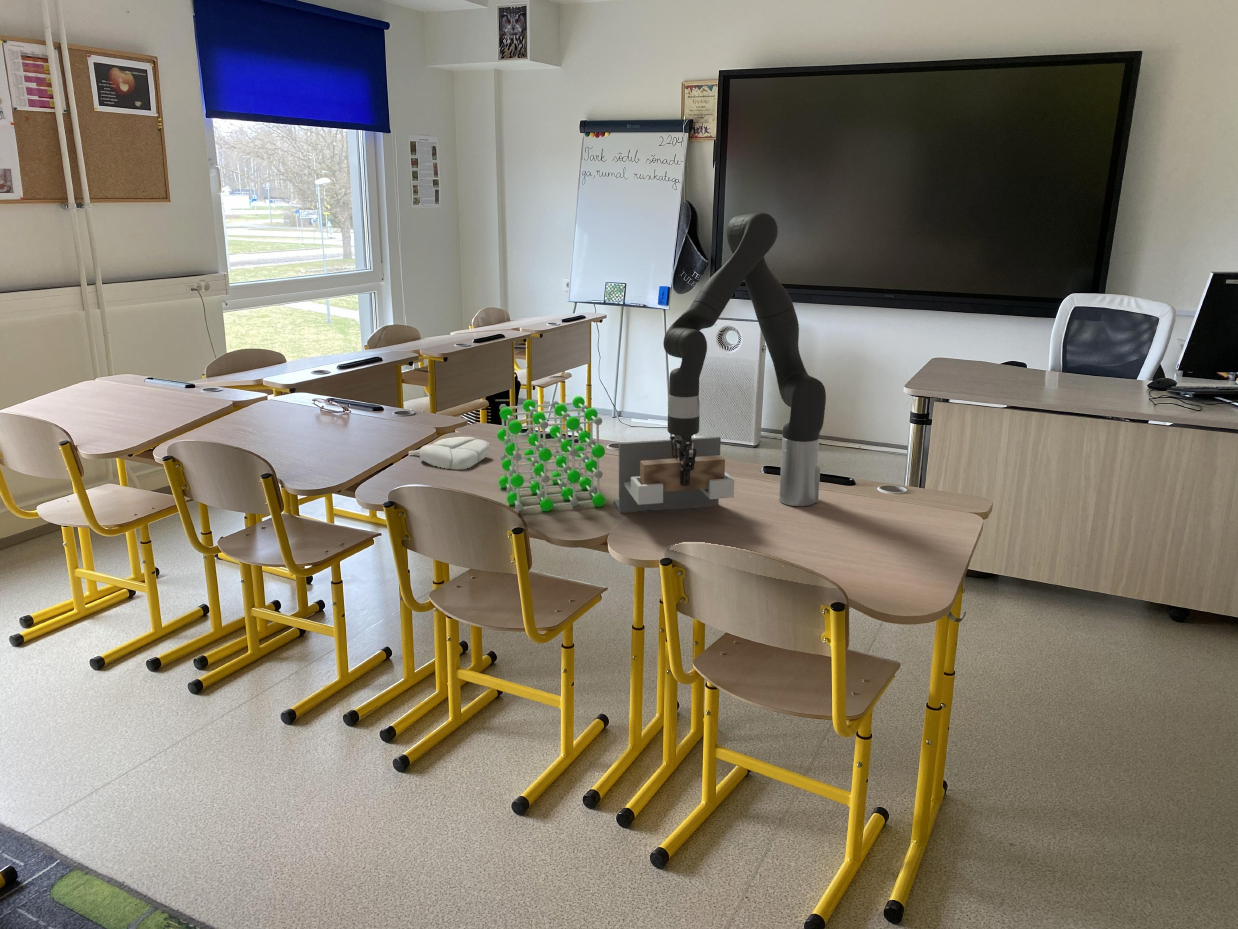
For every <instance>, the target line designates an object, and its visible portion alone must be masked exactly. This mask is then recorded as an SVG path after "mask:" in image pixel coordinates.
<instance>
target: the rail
mask: <svg viewBox="0 0 1238 929" xmlns="http://www.w3.org/2000/svg"><path fill="white" fill-rule="evenodd" d="M686 465H688V463H687V464H686ZM680 471H681V470H680V461H678V458H673V459H658V460H644V461H640V484H641V485H644V484H658V483H662V484H663V492H668V491H681V490H694V489H707V488H709V480H713V479H724V477H725V472H726V458H724V457H723V456H722V455H721V454H720V455H716V456H702V457H695V463H694V469H693V470H690V484H689V485H688V486H681V485H680Z"/></svg>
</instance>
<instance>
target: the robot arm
mask: <svg viewBox="0 0 1238 929" xmlns="http://www.w3.org/2000/svg"><path fill="white" fill-rule="evenodd" d="M778 231H779V230H778V225H777V222H776V219H775V218H774V217H773V216H772V215H771V214H769V213H768V212H754V213H753V212H751V213H744V214H738V215H735V216H734V217H732V218H731V219H730V220H729V222H728V224H727V227H726V238H727V244H728V245H729V248H730V251H731V254H732V255H731V257H730V258H729V259H728V260H727V261H726V262H725V263H724V264H723V265H722V266H721V267H720V268H719V269H718V270H717V271H716V272H715V273H714V274H712V276H710V277H709V278H708V280H706V282H705V283H704V284H703V286H702V287H701V288H700V290H699V291H698V293H697V294H696V296H695V298H694V299H693V301H692V303H691V304H690V306H689V307H688V309H686V310H685V311H684V312H682V314H681V315H680V316H678V318H677V319H676V320H674V322H672V324H670V326H669V327H668V328H667V331H666V332H665V335H664V338H663V349H664V351H665V353H666V354H667V355H669V356H670V357H674V358H679V359H681V363H680V366H679V367H677V368H674V369H672V370H671V371H670V372H669V377H668V378H669V379H668V380H669V381H668V401H667V428H666V429H667V432H668V433H669V434H670V435H671V436H670V438H669V440H671V449H672V459H673V458H678V461H680V470H681V471H680V485H681V486H688V485H689V484H690V470H693V469H694V463H695V457H696V449H693V441H692V438H693V436H696V435H698V433H700V415H701V413H700V412H701V410H700V409H701V402H700V378H701V374H702V370H703V368H704V364H705V360H706V356H707V352H708V343H707V338H706V336H705V334H704V333H703V332H702V331H701V330H704V329H709V328H712V327H713V326H714V325H715V324H716V323H717V321H718V319H719V318H720V317H721V314H722V313H723V312H724V310H725V308H726V307H727V305H728V304H729V302H730V300H731V299H732V297H733V296H734V294H735V293H736V291H737V290H738V289H739V287H740V286H741V285H742V283H743V282H744V284H745V286H746V288H747V289H746V290H747V291H748V294H749V297H750V301H751V303H752V306H753V309H754V310H753V311H754V312H755V316H756V319H757V323H758V325H759V328H760V331H761V334H762V336H763V340H764V342H765V344H766V347H767V350H768V353H769V355H770V358H771V362H772V363H773V364H772V365H773V368H774V372H775V376H776V381H777V386H778V391H779V395H780V397H781V400H782V402H783V403H784V404H785V405H786V406H787V407H789V408H790V413H789V414H790V415H789V421H788V423H785V424H784V425H783V427H782V438H781V439H782V440H781V442H782V443H781V455H780V457H781V458H780V460H781V461H780V475H779V476H780V478H779V479H780V480H779V493H778V494H779V495H778V496H779V497H778V500H779V501H780V503H782V504H784V505H788V506H791V507H793V506H794V507H806V506H812V505H813V504H818V503H819V494H820V478H821V477H820V476H821V467H819V466H818V464H819V463H818V462H819V461H818V459H819V442H820V433H821V430H822V429H823V426H824V422H825V421H824V420H825V412H826V411H825V410H826V403H827V402H826V401H827V393H826V388H825V385H824V384H823V382H822V381H820V380H819V379H817V378H815V377H813V376H811V375H809V374H808V372H807V370H806V367H805V366H804V362H803V360H802V358H801V353H800V350H799V348H800V347H799V338H800V336H799V335H800V323H799V319H798V314H797V312H796V309H795V306H794V303H793V300H792V298H791V296H790V294H789V292H788V291H787V290H786V288H785V287H784V286H783V285H782V283H781V282H780V281H779V279H778V278H777V277H776V276H775V275H774V273H772V271H771V269H770V268H769V266H768V264H767V261H766V258H765V255H767V253H768V252H769V251H770V250H771V248H772V247H774V245H775V243H776V241H777V238H778ZM687 463H688V465H686V464H687Z"/></svg>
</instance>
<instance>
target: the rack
mask: <svg viewBox="0 0 1238 929" xmlns="http://www.w3.org/2000/svg"><path fill="white" fill-rule="evenodd" d="M691 438H692V441H693V449H696V457H702V456H716V455H721V444H722V443H721V442H722V441H721V440H722V438H721V436H709V437H708V436H706V437H705V436H704V437H691ZM658 459H672V449H671V439H657V440H643V441H627V442H626V441H622V442H618V499H613V505H614V506H615V508H616V510H617V511H618V512H619V514H624V513H625V514H626V513H637V512H636V511H640V512H647V511H646V510H652V511H663V510H664V511H665V510H676V509H688V508H700V507H702V508H704V507H714V506H719V501H720V499H732V498H734V497H735V496H734V494H735V479H734V478H733V477H732V476H731V475H730V474H729V473H728V472H726V471H725V477H724V479H713V480H709V488H707V489H694V490H681V491H668V492H663V484H662V483H658V484H644V485H641V484H640V461H644V460H658Z"/></svg>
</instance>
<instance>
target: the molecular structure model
mask: <svg viewBox="0 0 1238 929" xmlns="http://www.w3.org/2000/svg"><path fill="white" fill-rule="evenodd" d="M585 403H586V401H585V398H583V397H582V396H580V395H578V396H577V395H576V396H575V397H574V398H573V399H572V402H558V401H557V400H553V401H552V402H551V403H543V404H536V402H534V400H533V399H526V400H524V401H523V404H522V405H515V406H514V405H513V406H507V405H506V403H503V404H502V403H501V404H500V405H499V410H500V411H499V416H500V419H501V427H502V428H501V429H500V430H498V431H497V435H496V436H497V439H498V440H499V441H500V442H502V452H503V453H502V454H501V456H500V460H501V461H502V462H501V468H502V469H503V475H502V476H501V477H500V478H499V479H498V485H499V487H501V488H503V489H506V490H505V491H506V493H507V496H506V500H507V504H510V505H511V506H514V509H515V511H517V512H522V511H523V510H529V509H539V508H540V509H541V511H543V512H545V511H546V512H550V511H551V510H552V509H553V507H559V506H571V507H576V506H578V505H580V504H590V503H591V504H593V505H594V506H595V507H597V508H600V507H603V506H604V505H605V503H606V496H605V495H603V494H602V493H601V491H600V483H601V482H600V480H601V478H602V477H603V475H604V474H603V472H602V470H600V459H601V458H603V457H604V456H605V454H606V449H605V447H604V446H603V445H601V444H600V425H602V423H603V419H602V417H601V416H599V417H598V415H599V413H598V410H596V408H594V407H590V408H589V405H586V404H585ZM567 406H573V407H574V408H570V409H569V408H567ZM541 407H543V408H544V407H552V408H553V409H552V410H539V411H538V409H537V408H541ZM512 409H523V410H524V412H522V411H520V412H513V410H512ZM568 412H577V415H571V414H570V413H568ZM581 412H582V413H583V414H581ZM549 413H550V414H551V413H553V416H549V417H546V415H545V414H549ZM520 415H522V416H523V415H527V418H523V419H522V418H520V419H516V417H514V416H520ZM531 416H532V418H531ZM581 418H583V421H581ZM549 420H553V421H554V423H548V421H549ZM558 420H559V423H558ZM563 421H565V422H563ZM521 422H528V424H526V425H522V423H521ZM531 422H532V424H531ZM587 424H589V428H590V429H589V430H590V431H589V430H587ZM593 424H595V425H596V441H595V440H594V435H593V434H594V433H593V432H594V431H593V427H594V425H593ZM581 425H583V427H582V426H581ZM563 426H565V429H563ZM548 427H550V429H549V431H546V429H547V428H548ZM527 428H528V429H527ZM536 428H537V431H536ZM523 429H527V431H526V432H524V433H523V432H522V431H523ZM541 430H542V431H541ZM563 433H565V435H563ZM569 433H571V437H569ZM575 433H577V436H575ZM546 434H550V436H551V437H552V438H546ZM541 435H542V438H541ZM518 436H520V437H521V436H526V437H528V439H527V440H521V441H520V440H519V441H518ZM575 440H578V442H575ZM546 442H554V444H553V445H549V444H548V445H547V444H546ZM558 442H559V444H558ZM520 444H528V446H527V447H524V446H523V447H519V445H520ZM587 446H588V447H589V448H590V450H587V449H588V448H587ZM550 448H555V449H554V451H551V449H550ZM558 448H560V451H559V450H558ZM519 451H524V454H523V455H521V453H520V452H519ZM537 452H538V454H537ZM588 454H590V457H589V456H588ZM569 455H570V456H571V459H569ZM552 457H553V458H555V460H551V459H552ZM537 458H538V459H537ZM594 458H596V460H595V459H594ZM522 459H525V460H526V461H527V462H521V463H520V462H519V461H520V460H522ZM571 462H572V467H571V466H570V465H569V464H570V463H571ZM576 462H578V466H576ZM582 463H584V466H582ZM547 464H555V468H550V469H548V468H547ZM519 466H520V467H521V466H523V467H524V466H529V470H526V471H519ZM582 469H583V470H584V473H583V472H582ZM549 472H551V475H550V476H549V475H548V473H549ZM588 473H589V474H588ZM524 474H525V475H527V474H529V476H528V478H527V479H525V478H524V477H523V475H524ZM533 474H534V476H533ZM564 474H566V475H565V476H564ZM538 477H539V478H538ZM589 477H590V478H589ZM594 477H595V479H596V488H595V486H594ZM564 480H566V482H565V481H564ZM549 481H551V482H552V483H553V484H555V485H549V486H548V483H549ZM524 483H529V487H525V488H521V487H522V486H524ZM543 483H544V486H543ZM570 483H571V484H570ZM576 487H580V488H581V489H582V490H588V491H579V492H576ZM558 488H559V489H561V493H556V494H548V489H558ZM543 490H544V492H543ZM526 491H530V492H531V493H532V494H533V495H535V496H525V497H524V496H523V497H521V496H520V492H526ZM586 494H587V495H588V494H589V495H590V496H592V498H591V500H590V499H589V500H582V501H581V500H580V501H579V500H578V499H577V498H576V496H577V495H578V496H579V495H586ZM556 497H561V498H562V499H563V500H566V501H569V502H561V503H559V502H558V503H553V500H552V499H551V498H556ZM534 499H538V500H539V501H540V502H539V505H530V506H524V505H523V504H522V503H521V501H523V500H534Z"/></svg>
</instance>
